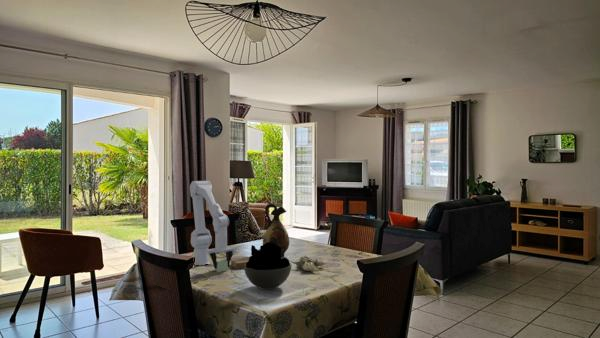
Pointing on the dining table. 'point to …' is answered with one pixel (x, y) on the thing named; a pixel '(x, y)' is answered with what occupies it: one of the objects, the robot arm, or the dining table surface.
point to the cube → (221, 265)
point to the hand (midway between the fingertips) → (221, 267)
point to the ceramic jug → (276, 229)
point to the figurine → (309, 264)
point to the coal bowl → (267, 266)
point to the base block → (239, 262)
